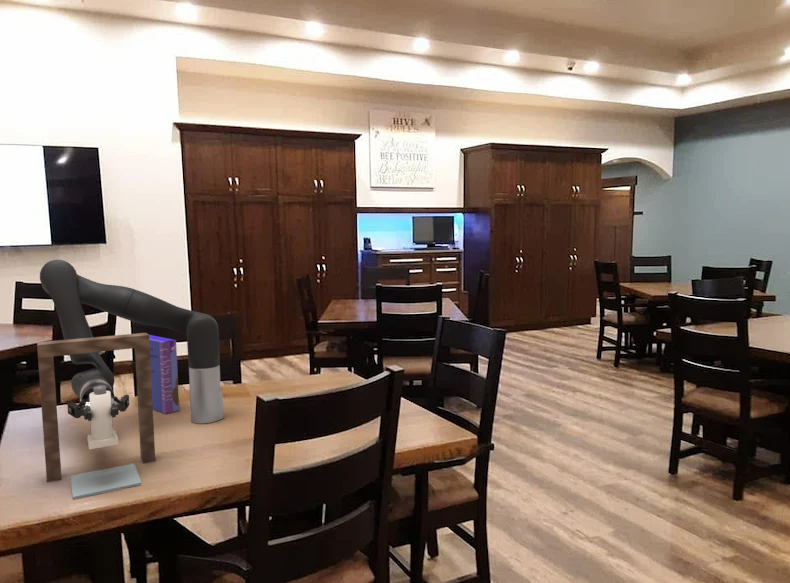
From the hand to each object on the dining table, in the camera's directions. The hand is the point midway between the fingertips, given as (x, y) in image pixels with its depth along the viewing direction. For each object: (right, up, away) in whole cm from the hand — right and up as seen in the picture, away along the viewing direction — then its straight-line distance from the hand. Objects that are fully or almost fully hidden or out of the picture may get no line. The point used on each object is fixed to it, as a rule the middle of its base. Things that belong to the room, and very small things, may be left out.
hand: (102, 414), depth 131 cm
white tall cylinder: (-1, -7, +3) cm, 8 cm away
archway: (-6, -16, +12) cm, 21 cm away
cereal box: (-12, -11, +61) cm, 63 cm away
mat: (-1, -17, +4) cm, 17 cm away
